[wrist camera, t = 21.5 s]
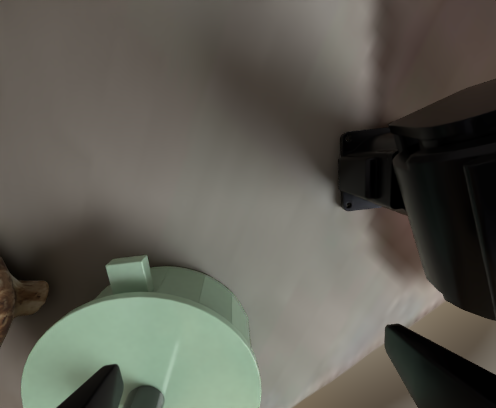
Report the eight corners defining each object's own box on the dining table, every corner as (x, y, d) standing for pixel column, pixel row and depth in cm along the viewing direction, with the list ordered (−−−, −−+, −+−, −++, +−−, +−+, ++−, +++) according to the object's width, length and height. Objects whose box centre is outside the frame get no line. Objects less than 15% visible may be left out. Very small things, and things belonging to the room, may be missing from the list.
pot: (237, 227, 20) (238, 253, 15) (259, 410, 24) (266, 478, 19) (56, 249, 19) (-8, 284, 14) (114, 432, 24) (81, 509, 19)
